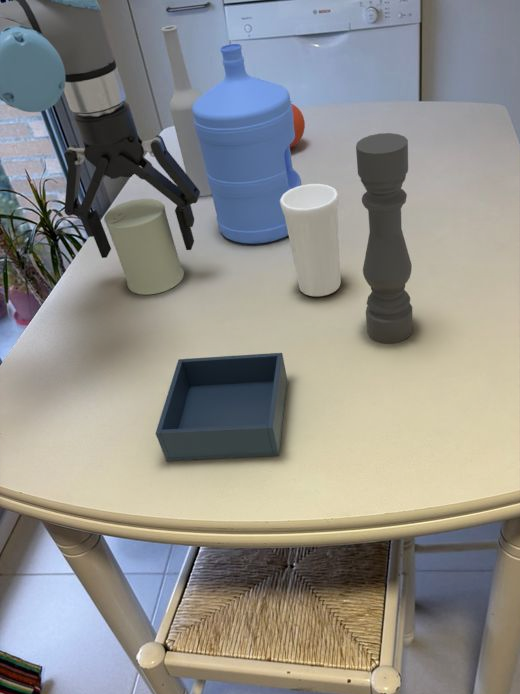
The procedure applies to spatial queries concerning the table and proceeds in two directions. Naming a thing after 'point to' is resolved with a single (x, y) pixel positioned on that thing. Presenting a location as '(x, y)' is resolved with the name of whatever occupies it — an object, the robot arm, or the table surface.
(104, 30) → the robot arm
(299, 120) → the tomato
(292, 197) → the cup
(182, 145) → the bottle
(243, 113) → the water jug
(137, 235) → the can
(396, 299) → the candle holder
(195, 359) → the box
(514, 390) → the table surface
